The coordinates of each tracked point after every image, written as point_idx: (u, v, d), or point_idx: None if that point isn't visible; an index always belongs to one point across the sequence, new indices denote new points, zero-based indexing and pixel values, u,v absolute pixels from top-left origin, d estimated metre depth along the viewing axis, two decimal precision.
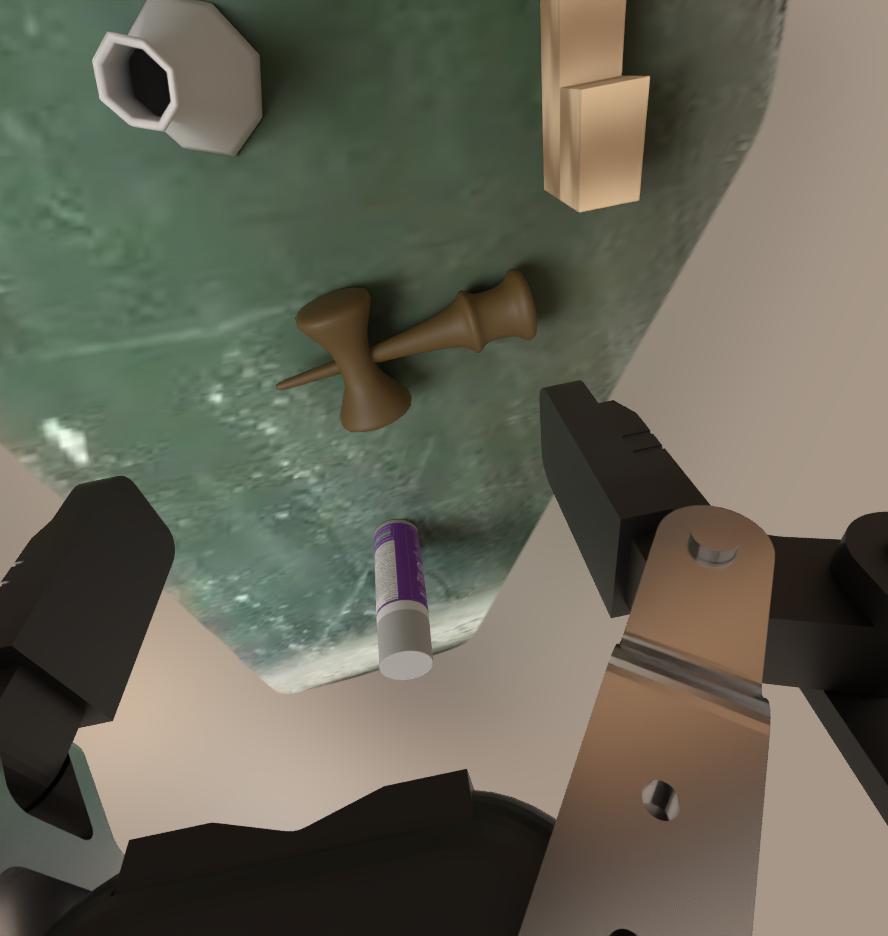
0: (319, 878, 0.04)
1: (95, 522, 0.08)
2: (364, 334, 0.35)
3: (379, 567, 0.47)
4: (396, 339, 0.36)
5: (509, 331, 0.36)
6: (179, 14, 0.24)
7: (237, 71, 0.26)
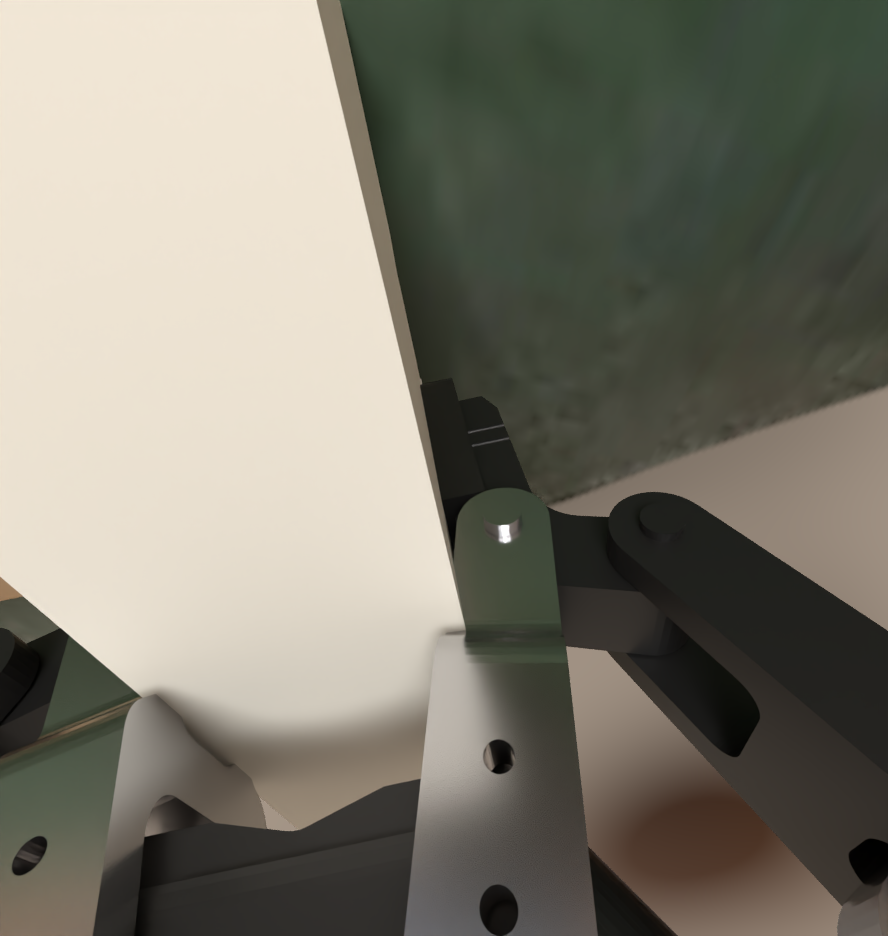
0: (319, 878, 0.04)
1: None
2: None
3: None
4: None
5: None
6: None
7: None
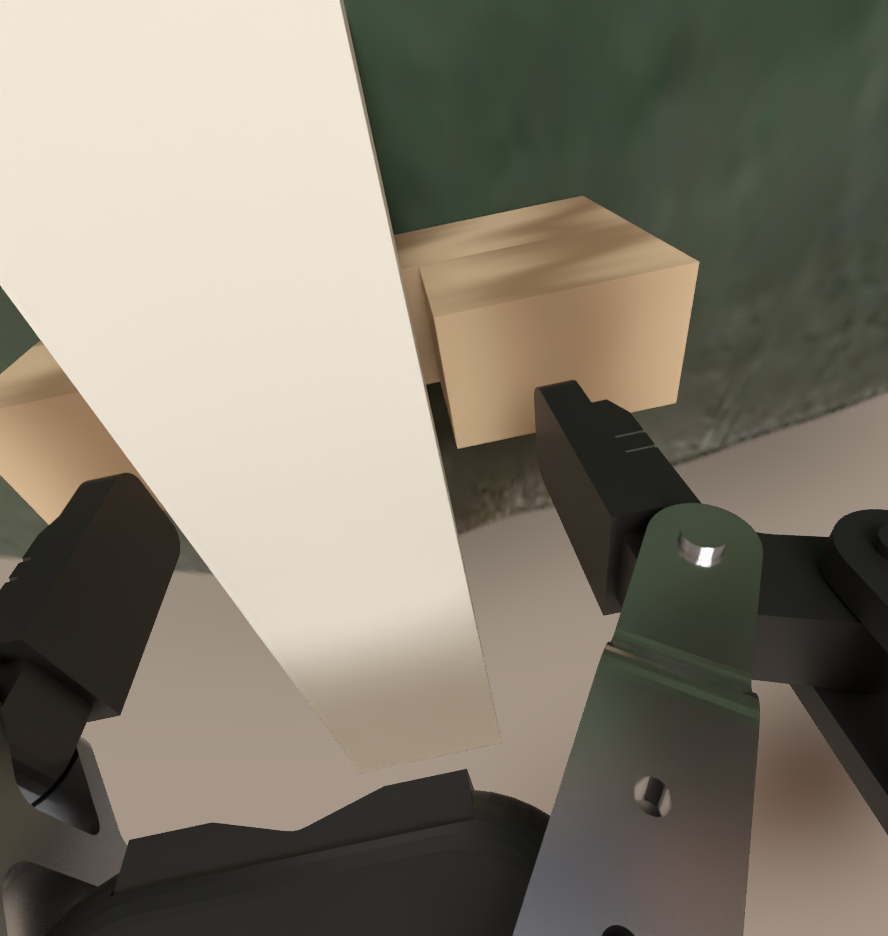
0: (319, 878, 0.04)
1: (102, 518, 0.08)
2: None
3: None
4: None
5: None
6: None
7: None
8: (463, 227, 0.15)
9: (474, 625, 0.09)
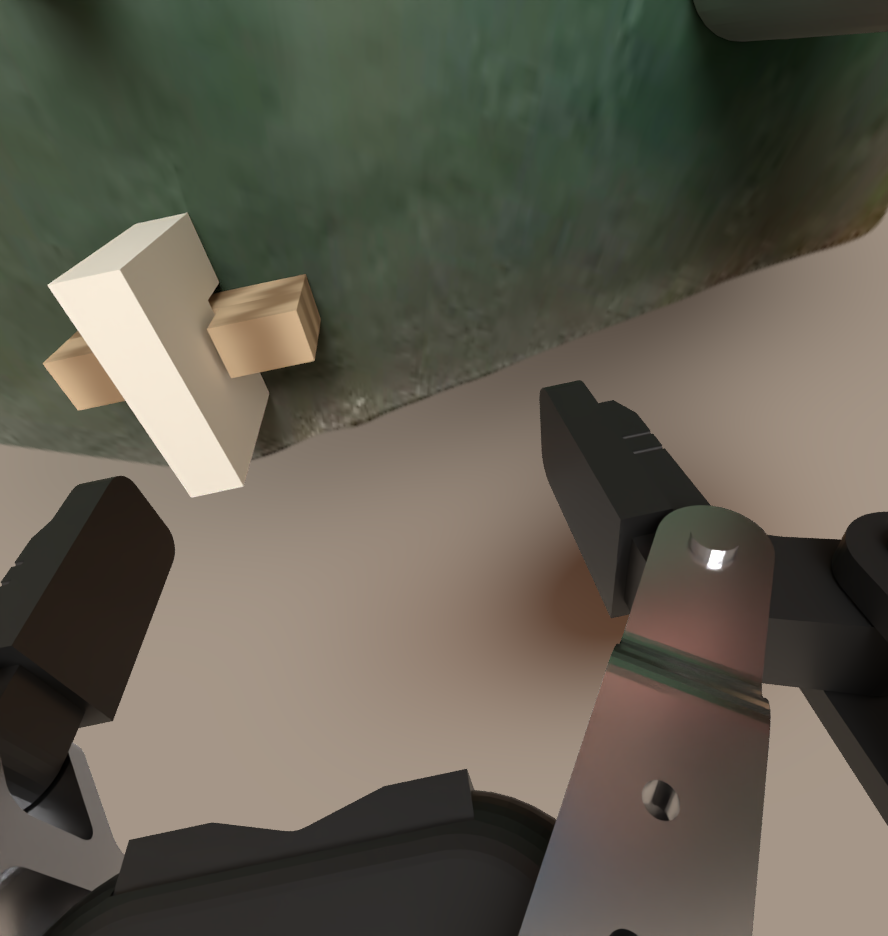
0: (319, 878, 0.04)
1: (95, 522, 0.08)
2: None
3: None
4: None
5: None
6: None
7: None
8: (250, 289, 0.35)
9: (206, 422, 0.29)
